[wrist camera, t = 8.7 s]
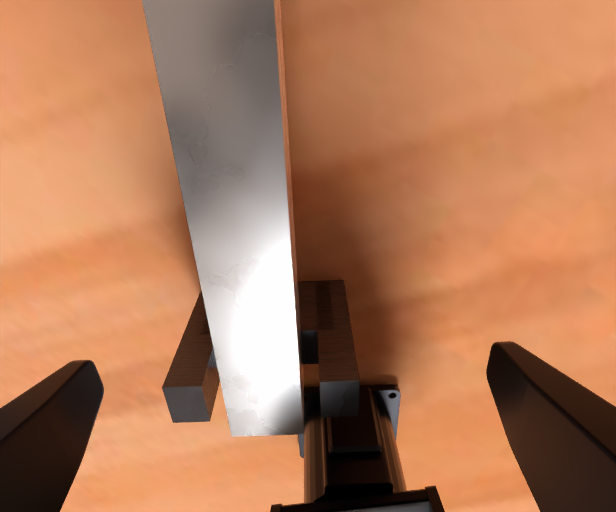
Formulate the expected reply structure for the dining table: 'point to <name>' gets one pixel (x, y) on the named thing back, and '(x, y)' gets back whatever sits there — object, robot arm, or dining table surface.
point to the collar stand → (315, 350)
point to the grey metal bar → (237, 196)
